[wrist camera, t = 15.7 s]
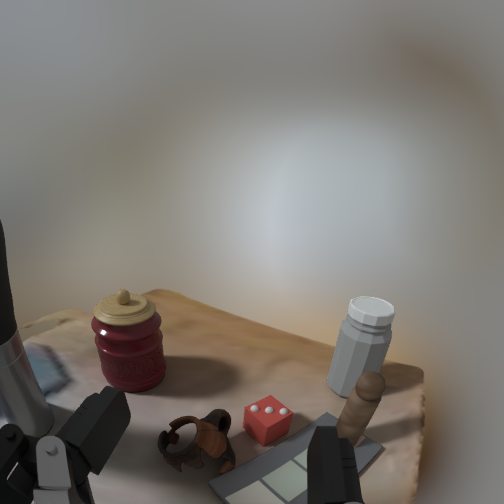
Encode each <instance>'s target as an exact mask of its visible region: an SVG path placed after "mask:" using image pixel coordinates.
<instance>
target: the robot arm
mask: <svg viewBox="0 0 504 504" xmlns="http://www.w3.org/2000/svg"><path fill="white" fill-rule="evenodd" d="M0 410H1V412H2V414H3V415H4V417H5V419H6V420H7V422H8V423H9V424H6V425H4V426H3V427H2V428H1V429H0V504H31V503H32V501H33V499H34V502H35V504H95V502H94V499H93V495H92V492H91V488H90V484H89V480H88V477H87V476H88V474H89V472H92V473H94V474H97V475H99V474H100V472H101V470H102V468H103V467H104V465H105V463H106V462H107V460H108V458H109V457H110V455H111V453H112V451H113V450H114V448H115V446H116V445H117V443H118V441H119V440H120V438H121V436H122V435H123V433H124V431H125V430H126V428H127V426H128V425H129V422H130V418H131V413H130V410H129V406H128V403H127V400H126V396H125V393H124V391H122V390H119V389H116V388H113V387H111V386H106V387H104V389H103V390H102V391H101V392H100V394H98V393H94V394H92V395H90V396H89V397H87V398H86V399H85V400H84V401H83V403H82V404H81V405H80V407H78V409H77V410H76V411H75V413H74V414H73V415H72V416H71V417H70V419H69V420H68V421H67V422H66V424H65V425H64V426H63V427H62V429H61V430H60V431H59V432H58V433H57V435H55V436H45V437H43V438H41V439H39V437H42V436H43V435H45V434H46V433H47V432H48V431H49V430H50V428H51V427H52V424H53V414H52V412H51V410H50V408H49V406H48V404H47V402H46V400H45V398H44V395H43V393H42V391H41V389H40V387H39V384H38V382H37V380H36V377H35V375H34V373H33V370H32V368H31V365H30V362H29V360H28V357H27V354H26V352H25V349H24V346H23V343H22V340H21V337H20V334H19V331H18V328H17V324H16V320H15V316H14V308H13V299H12V294H11V289H10V283H9V276H8V268H7V257H6V246H5V238H4V232H3V227H2V224H1V221H0ZM355 458H356V457H355V452H354V447H353V445H352V444H351V443H350V441H349V440H348V438H338V432H337V427H336V426H317V427H316V429H315V431H314V434H313V436H312V439H311V441H310V443H309V446H308V450H307V504H365V503H364V502H363V499H362V495H361V488H360V481H359V475H358V469H357V463H356V460H355ZM17 462H18V465H17V466H16V468H15V469H14V471H13V472H12V474H11V475H10V477H9V478H8V480H7V477H8V475H9V473H10V472H11V470H12V469H13V467H14V466H15V465H16V463H17Z"/></svg>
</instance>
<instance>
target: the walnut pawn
mask: <svg viewBox="0 0 504 504" xmlns="http://www.w3.org/2000/svg"><path fill="white" fill-rule="evenodd" d="M384 389H385V380H384V378H383V377H382V375H381V374H379V373H377V372H373V371H371V372H366V373H364V374H363V375H361V376H360V377H359V378H358V380H357V382H356V386H355V387H353V388H352V390H351V393H350V395H349V397H348V400H347V402H346V404H345V406H344V409H343V411H342V413H341V415H340V417H339V419H338V421H337V423H336V427H337V432H338V438H348V440H349V441H350V443H351V444H352V445H353V447H354V446H355V445H356V443H357V442H358V440H359V438H360V437H361V435H362V433H363V432H364V430H365V428H366V426H367V425H368V423H369V421H370V419H371V418H372V416H373V414H374V412H375V410H376V408H377V407H378V405H379V403H380V401H381V398H382V397H381V395H382V393H383V392H384Z"/></svg>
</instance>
